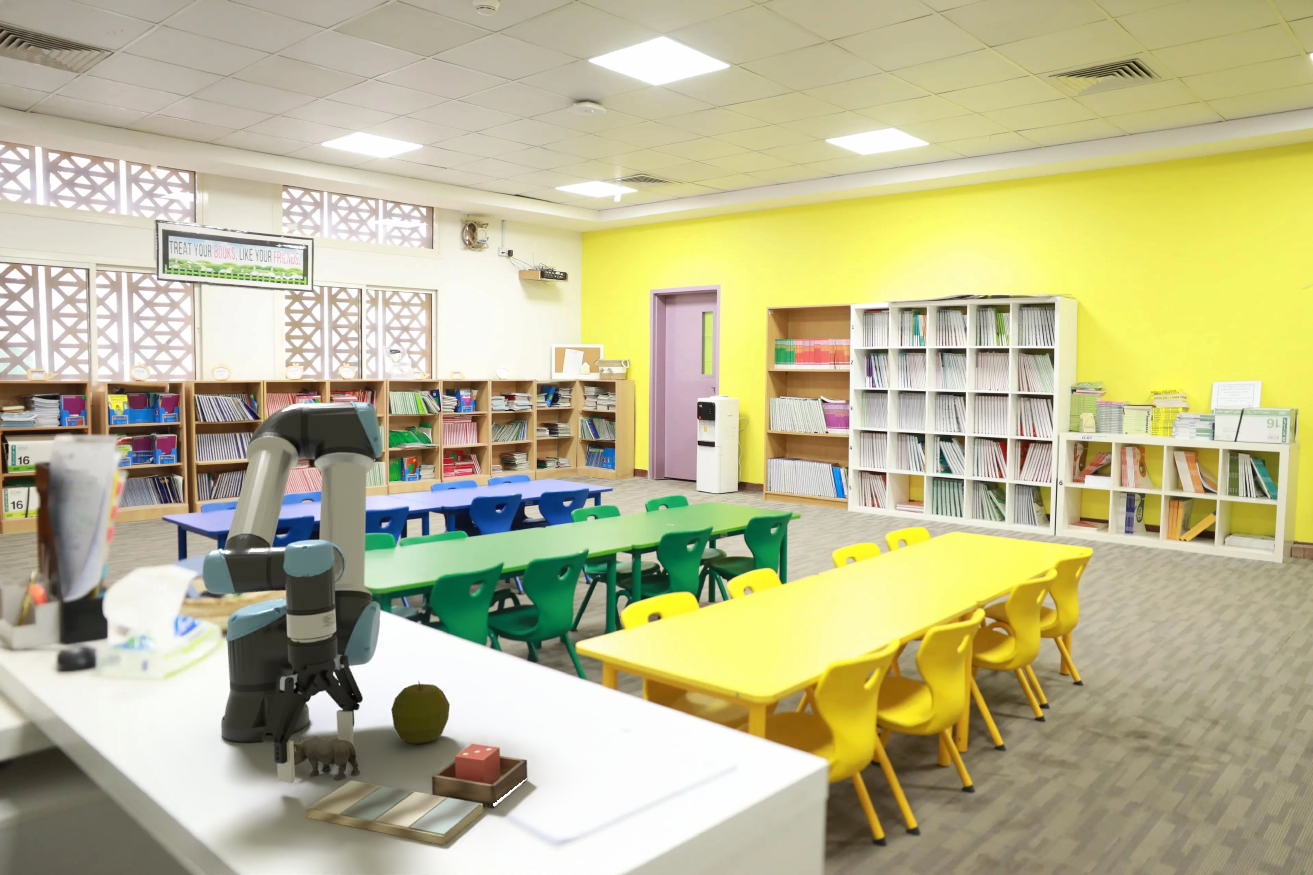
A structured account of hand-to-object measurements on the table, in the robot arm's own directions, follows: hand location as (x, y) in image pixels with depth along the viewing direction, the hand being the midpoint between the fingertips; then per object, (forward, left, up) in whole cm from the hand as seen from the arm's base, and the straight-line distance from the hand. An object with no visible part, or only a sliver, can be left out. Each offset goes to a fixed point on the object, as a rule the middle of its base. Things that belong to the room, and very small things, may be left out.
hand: (317, 764), depth 145 cm
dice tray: (+28, +4, -2) cm, 29 cm away
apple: (+8, +17, -2) cm, 19 cm away
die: (+28, +4, -1) cm, 28 cm away
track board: (+21, -7, -2) cm, 22 cm away
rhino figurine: (0, +1, -2) cm, 2 cm away
